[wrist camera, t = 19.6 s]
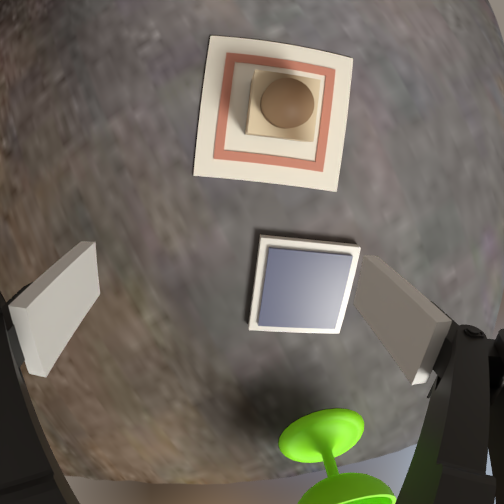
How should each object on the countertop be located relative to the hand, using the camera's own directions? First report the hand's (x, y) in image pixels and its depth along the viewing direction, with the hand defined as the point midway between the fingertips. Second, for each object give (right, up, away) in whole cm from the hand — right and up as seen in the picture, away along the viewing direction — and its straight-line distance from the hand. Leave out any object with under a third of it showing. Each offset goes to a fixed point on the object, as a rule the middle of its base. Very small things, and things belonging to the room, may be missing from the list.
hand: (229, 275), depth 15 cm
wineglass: (+14, -32, +35) cm, 50 cm away
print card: (+4, +16, +17) cm, 24 cm away
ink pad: (+7, -3, +24) cm, 26 cm away
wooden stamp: (+3, +16, +17) cm, 24 cm away
